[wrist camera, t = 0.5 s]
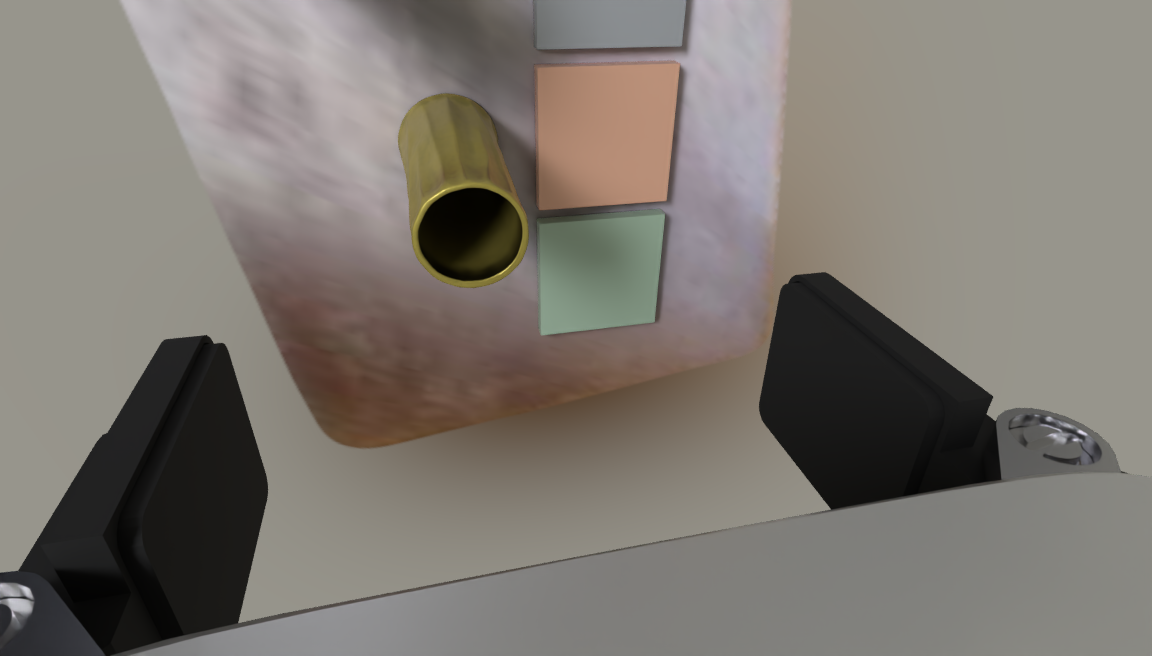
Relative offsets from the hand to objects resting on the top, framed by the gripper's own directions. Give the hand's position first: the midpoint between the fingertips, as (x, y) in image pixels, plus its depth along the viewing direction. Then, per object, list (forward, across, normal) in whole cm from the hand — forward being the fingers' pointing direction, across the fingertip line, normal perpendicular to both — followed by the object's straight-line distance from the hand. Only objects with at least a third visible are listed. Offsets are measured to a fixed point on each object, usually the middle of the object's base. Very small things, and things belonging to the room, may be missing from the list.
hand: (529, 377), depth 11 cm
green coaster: (+33, -10, +14) cm, 37 cm away
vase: (+33, 0, +4) cm, 33 cm away
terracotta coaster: (+32, -10, +4) cm, 34 cm away
